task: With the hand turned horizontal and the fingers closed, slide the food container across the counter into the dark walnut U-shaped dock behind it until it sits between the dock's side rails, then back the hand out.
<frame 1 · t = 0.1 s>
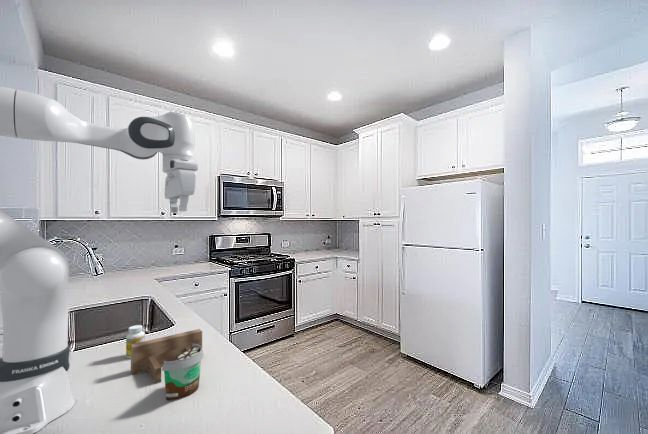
hand: (178, 212, 91), 48 cm above the counter, tool pointing down, fingers open, 8 cm apart
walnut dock: (174, 371, 89), on the counter
supplement bottle: (135, 356, 100), on the counter
food container: (189, 391, 78), on the counter
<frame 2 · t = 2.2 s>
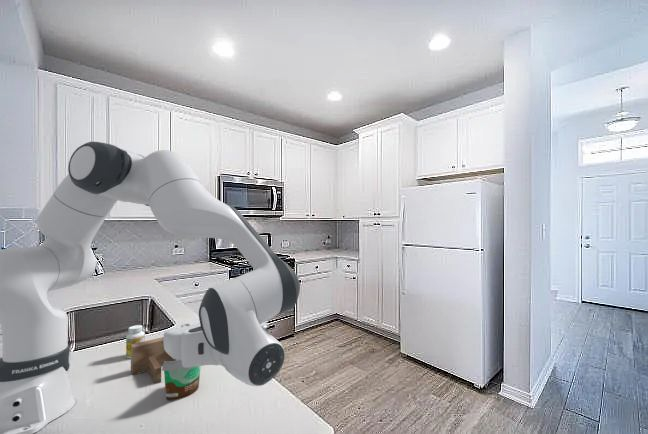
hand: (204, 323, 70), 20 cm above the counter, tool horizontal, fingers open, 8 cm apart
nothing on the counter moved.
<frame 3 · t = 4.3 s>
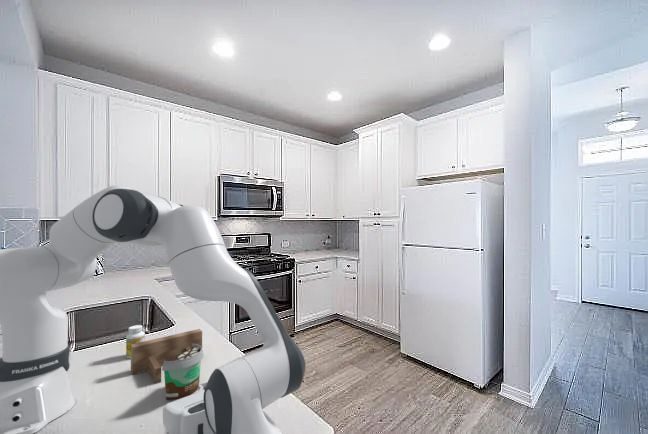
hand: (204, 386, 70), 6 cm above the counter, tool horizontal, fingers closed
nothing on the counter moved.
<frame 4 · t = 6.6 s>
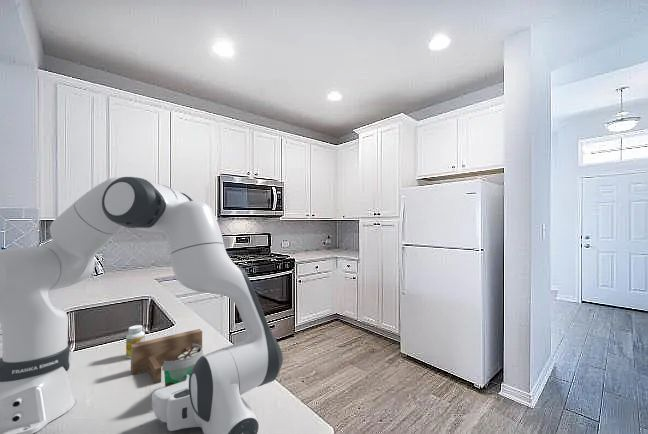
hand: (191, 376, 76), 5 cm above the counter, tool horizontal, fingers closed
food container: (189, 391, 78), on the counter, touching gripper
everything else where it was.
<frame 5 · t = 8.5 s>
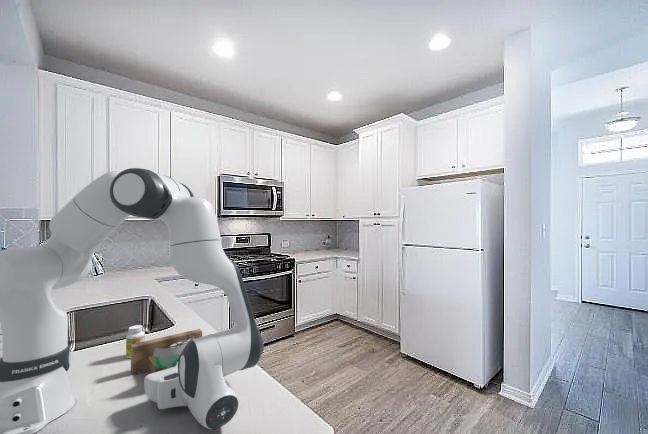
hand: (181, 363, 83), 5 cm above the counter, tool horizontal, fingers closed, pressing on food container
food container: (180, 378, 85), on the counter, touching gripper, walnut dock
everything else where it was.
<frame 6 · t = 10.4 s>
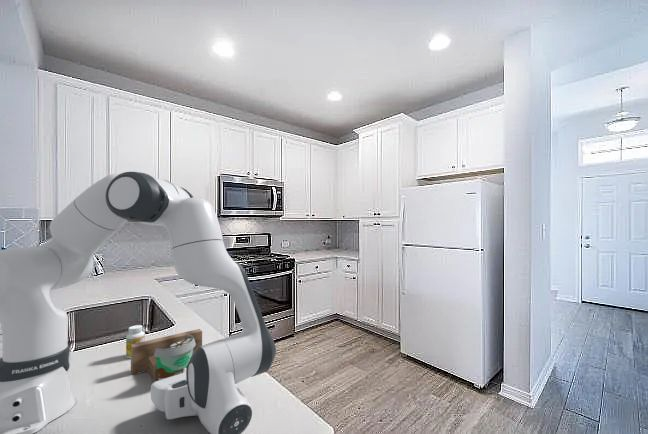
hand: (188, 369, 79), 5 cm above the counter, tool horizontal, fingers closed
food container: (180, 378, 85), on the counter
everything else where it was.
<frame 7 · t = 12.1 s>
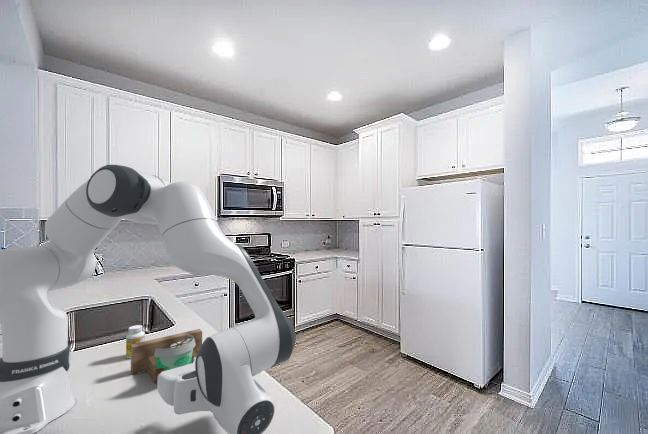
hand: (198, 359, 72), 11 cm above the counter, tool horizontal, fingers closed
nothing on the counter moved.
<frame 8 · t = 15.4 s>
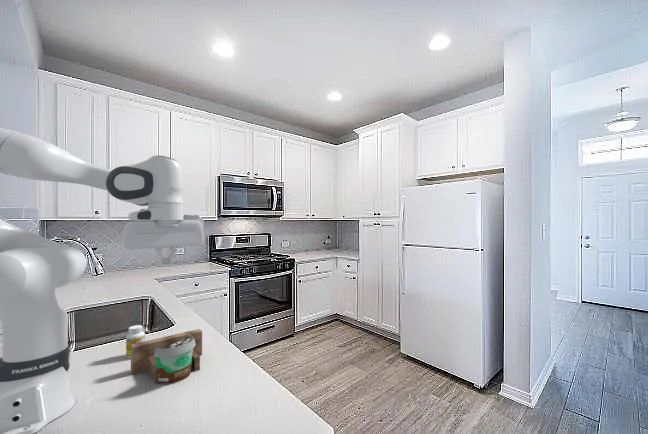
hand: (165, 263, 82), 33 cm above the counter, tool pointing down, fingers closed
nothing on the counter moved.
at the end: food container 3.9 cm from the target spot on the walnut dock, point 0.0 cm above the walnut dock's base; food container tilted 0°; food container moved 9.1 cm from its start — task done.
